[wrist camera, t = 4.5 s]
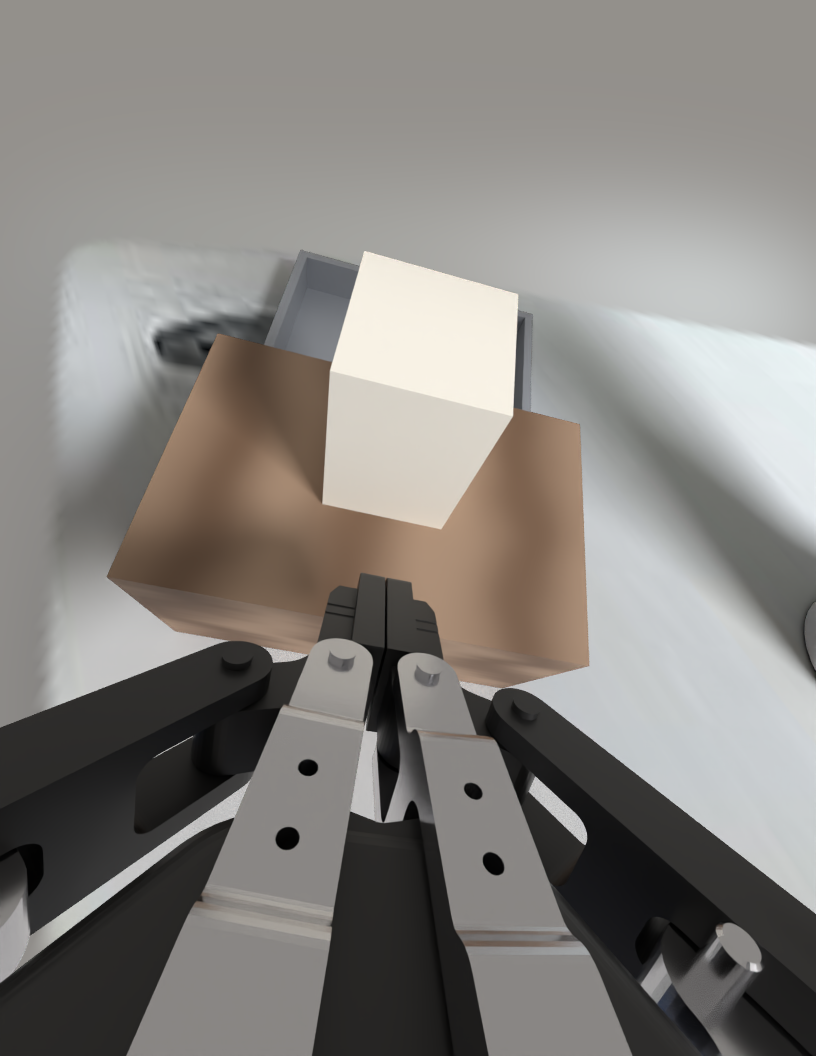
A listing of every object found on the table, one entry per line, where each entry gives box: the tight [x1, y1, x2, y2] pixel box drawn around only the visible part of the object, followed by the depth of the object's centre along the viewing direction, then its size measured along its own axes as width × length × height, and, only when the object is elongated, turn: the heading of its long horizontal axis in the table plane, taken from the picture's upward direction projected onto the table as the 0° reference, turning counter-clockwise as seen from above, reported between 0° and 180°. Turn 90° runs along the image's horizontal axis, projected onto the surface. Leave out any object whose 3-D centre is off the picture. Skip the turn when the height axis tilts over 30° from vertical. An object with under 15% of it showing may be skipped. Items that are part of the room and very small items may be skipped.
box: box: [264, 250, 533, 412], centre depth 32 cm, size 18×15×3 cm
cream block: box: [322, 251, 518, 529], centre depth 16 cm, size 5×5×8 cm
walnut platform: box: [107, 334, 589, 688], centre depth 23 cm, size 18×12×9 cm, turn 82°
